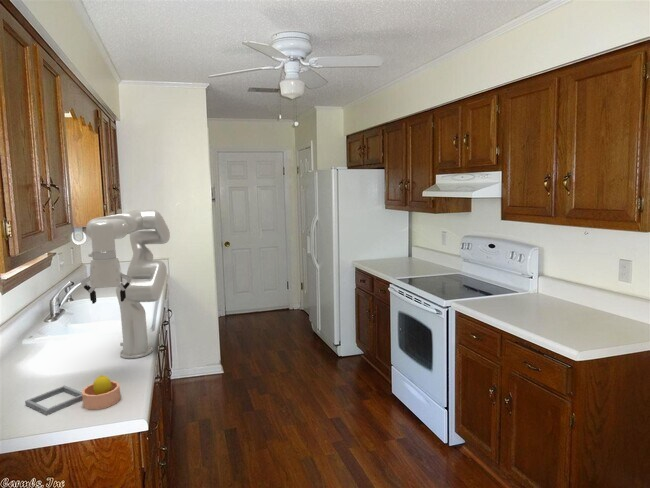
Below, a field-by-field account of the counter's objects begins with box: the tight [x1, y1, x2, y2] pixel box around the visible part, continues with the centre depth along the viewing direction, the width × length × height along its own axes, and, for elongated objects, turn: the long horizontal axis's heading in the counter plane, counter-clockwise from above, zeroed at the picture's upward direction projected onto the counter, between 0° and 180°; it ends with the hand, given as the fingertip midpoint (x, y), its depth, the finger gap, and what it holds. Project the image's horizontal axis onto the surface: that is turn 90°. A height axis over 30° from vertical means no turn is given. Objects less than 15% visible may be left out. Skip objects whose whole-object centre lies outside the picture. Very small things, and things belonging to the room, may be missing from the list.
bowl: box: [81, 380, 122, 410], centre depth 157 cm, size 11×11×4 cm
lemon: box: [92, 374, 112, 395], centre depth 156 cm, size 6×6×8 cm
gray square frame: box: [24, 385, 83, 416], centre depth 157 cm, size 13×13×2 cm
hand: (108, 301), depth 173 cm, fingers open, 9 cm apart
